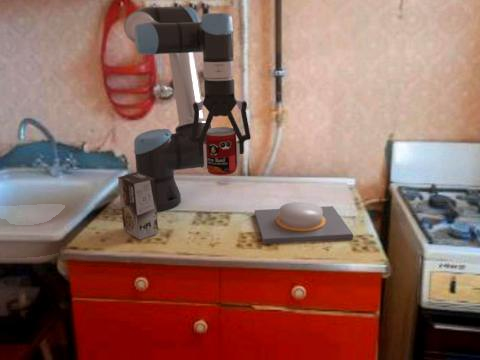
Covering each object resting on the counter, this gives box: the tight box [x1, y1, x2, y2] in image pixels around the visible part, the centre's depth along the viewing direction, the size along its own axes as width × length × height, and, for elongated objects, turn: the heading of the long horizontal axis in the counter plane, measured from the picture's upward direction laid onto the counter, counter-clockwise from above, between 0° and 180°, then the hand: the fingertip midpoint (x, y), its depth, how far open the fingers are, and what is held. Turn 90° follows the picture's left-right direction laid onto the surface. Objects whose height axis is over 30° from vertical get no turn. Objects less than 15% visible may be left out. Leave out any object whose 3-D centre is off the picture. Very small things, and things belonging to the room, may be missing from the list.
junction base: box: [253, 201, 354, 245], centre depth 136 cm, size 20×24×5 cm
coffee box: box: [117, 172, 159, 240], centre depth 133 cm, size 9×6×16 cm
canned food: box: [206, 126, 238, 176], centre depth 126 cm, size 8×8×11 cm
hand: (222, 166), depth 127 cm, fingers closed on canned food, 8 cm apart
